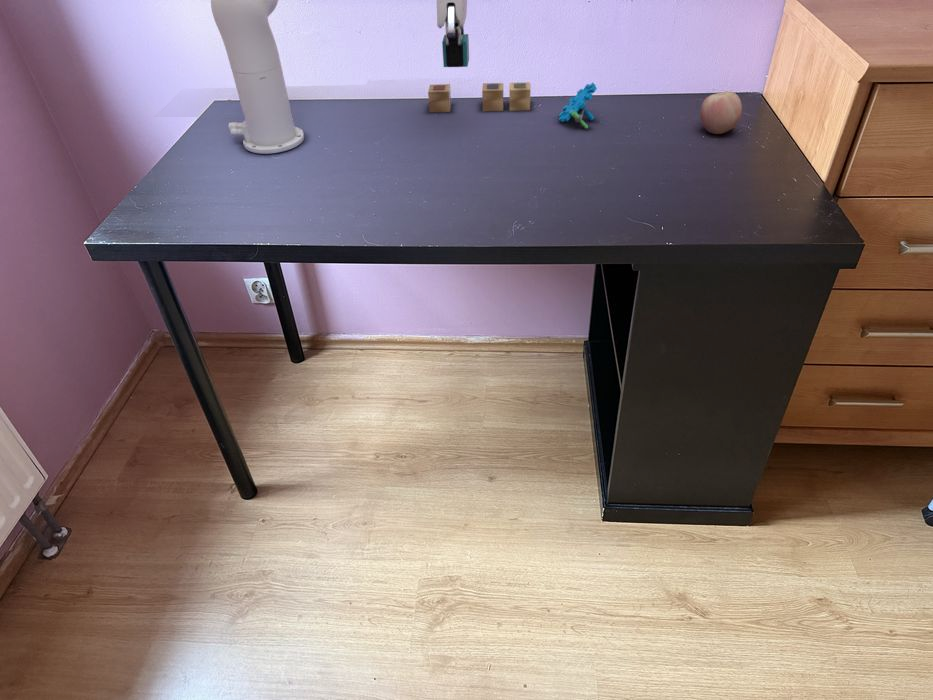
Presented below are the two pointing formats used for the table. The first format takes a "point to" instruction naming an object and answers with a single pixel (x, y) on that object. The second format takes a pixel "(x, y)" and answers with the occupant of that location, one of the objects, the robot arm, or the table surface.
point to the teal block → (465, 49)
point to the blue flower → (579, 106)
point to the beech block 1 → (439, 98)
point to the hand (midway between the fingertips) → (456, 60)
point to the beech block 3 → (519, 96)
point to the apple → (721, 112)
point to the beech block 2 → (492, 96)
